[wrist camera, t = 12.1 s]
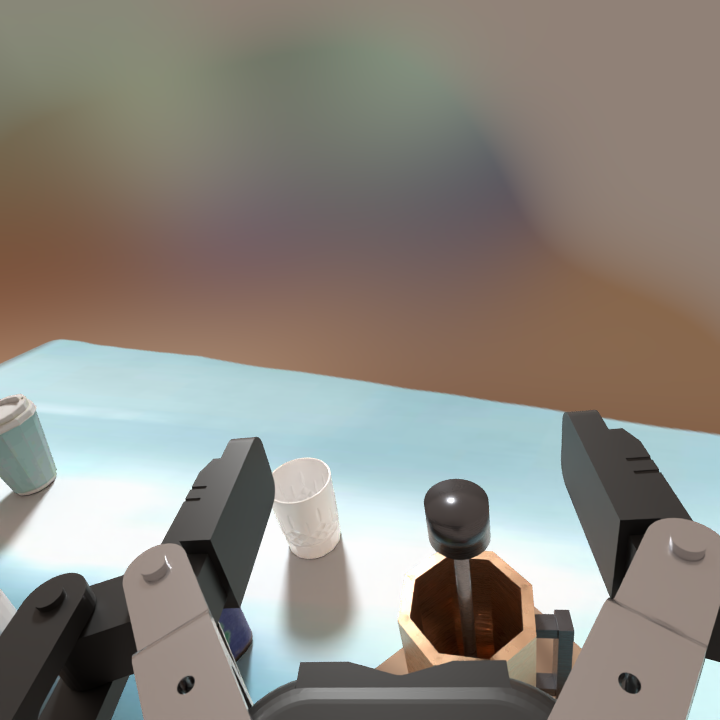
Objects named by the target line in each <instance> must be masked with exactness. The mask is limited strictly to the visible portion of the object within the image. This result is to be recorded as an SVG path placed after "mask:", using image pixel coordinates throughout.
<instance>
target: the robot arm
mask: <svg viewBox="0 0 720 720" xmlns="http://www.w3.org/2000/svg"><path fill="white" fill-rule="evenodd" d="M561 467H562V474H563V478H564V482H565V485H566V488H567V490H568V493H569V495H570V498H571V500H572V503H573V505H574V508H575V510H576V513H577V515H578V518H579V520H580V523H581V525H582V528H583V530H584V533H585V535H586V538H587V540H588V543H589V545H590V548H591V550H592V553H593V555H594V558H595V561H596V563H597V566H598V568H599V571H600V573H601V576H602V578H603V581H604V583H605V586H606V588H607V591H608V593H609V596H610V598H608V599H607V600H606V602H605V603H604V605H603V607H602V609H601V611H600V613H599V615H598V617H597V619H596V621H595V623H594V625H593V627H592V629H591V631H590V633H589V635H588V637H587V639H586V641H585V643H584V645H583V648H582V650H581V652H580V654H579V656H578V658H577V660H576V662H575V664H574V666H573V668H572V670H571V672H570V674H569V676H568V678H567V680H566V682H565V684H564V687H563V689H562V691H561V693H560V695H559V697H558V699H557V700H556V699H555V698H553V697H552V696H550V695H549V694H548V693H546V692H544V691H542V690H540V689H538V688H536V687H535V686H532V685H530V684H527V683H525V682H522V681H520V680H516V679H512V678H509V673H508V667H507V661H506V660H466V661H450V662H447V663H443V664H440V665H436V666H433V667H429V668H426V669H422V670H419V671H415V672H412V673H408V674H404V675H395V674H391V673H387V672H384V671H380V670H377V669H373V668H369V667H366V666H362V665H358V664H355V663H351V662H300V667H299V672H298V678H297V680H296V681H292V682H290V683H287V684H285V685H283V686H280V687H279V688H277V689H275V690H273V691H272V692H270V693H268V694H267V695H266V696H264V697H263V698H261V699H260V700H259V701H257V702H256V703H255V704H253V702H252V700H251V698H250V695H249V693H248V691H247V688H246V686H245V684H244V681H243V679H242V676H241V674H240V671H239V669H238V667H237V664H236V662H235V659H234V657H233V655H232V652H231V650H230V647H229V645H228V642H227V640H226V638H225V635H224V633H223V630H222V628H221V626H220V624H219V619H220V616H221V613H222V610H223V609H226V608H240V606H241V603H242V600H243V597H244V594H245V591H246V588H247V584H248V581H249V578H250V575H251V572H252V569H253V566H254V563H255V559H256V556H257V553H258V550H259V547H260V544H261V541H262V538H263V534H264V531H265V528H266V525H267V522H268V519H269V516H270V513H271V509H272V506H273V503H274V499H275V482H274V478H273V475H272V472H271V469H270V466H269V462H268V459H267V456H266V453H265V450H264V447H263V444H262V441H261V440H260V438H259V437H252V438H240V439H231V440H230V441H229V443H228V445H227V447H226V449H225V451H224V453H223V455H222V457H221V458H219V459H213V460H212V461H211V462H210V463H209V464H208V465H207V466H206V467H205V468H204V469H203V470H202V471H200V473H199V474H198V476H197V478H196V480H195V482H194V484H193V486H192V490H190V491H189V493H188V495H187V497H186V501H185V502H183V504H182V506H181V508H180V510H179V512H178V514H177V516H176V517H175V519H174V521H173V523H172V525H171V527H170V529H169V530H168V532H167V534H166V536H165V538H164V540H163V542H162V543H161V545H158V546H155V547H152V548H150V549H148V550H147V551H145V552H143V553H142V554H141V555H139V556H138V557H137V558H136V559H135V560H134V561H133V562H132V563H131V564H130V565H129V567H128V568H127V570H126V572H125V574H124V575H122V576H120V577H116V578H113V579H110V580H107V581H104V582H101V583H98V584H95V585H92V586H89V585H88V583H87V582H86V580H85V578H84V577H83V576H82V575H80V574H77V573H67V574H62V575H59V576H56V577H54V578H52V579H50V580H48V581H46V582H45V583H43V584H42V585H40V586H39V587H38V588H36V589H35V590H34V591H33V592H32V593H31V594H30V595H29V596H28V597H27V598H26V599H25V600H24V602H23V603H22V605H21V606H20V607H19V609H18V610H16V608H15V607H14V606H13V605H12V603H11V602H10V601H9V599H8V598H7V597H6V595H5V594H4V593H3V592H2V590H1V589H0V720H111V718H112V716H113V714H114V711H115V709H116V706H117V704H118V702H119V699H120V697H121V694H122V692H123V690H124V687H125V685H126V682H127V680H128V678H129V675H132V674H134V675H135V679H136V684H137V689H138V694H139V699H140V704H141V708H142V713H143V718H144V720H688V716H689V713H690V709H691V706H692V703H693V699H694V696H695V692H696V689H697V685H698V682H699V679H700V675H701V672H702V668H703V665H704V662H705V658H707V659H710V660H714V661H717V662H720V536H719V535H718V534H717V533H716V532H714V531H713V530H711V529H710V528H708V527H706V526H704V525H702V524H699V523H697V522H694V521H693V520H692V519H691V517H690V516H689V514H688V513H687V511H686V510H685V508H684V507H683V505H682V504H681V502H680V501H679V499H678V498H677V496H676V495H675V493H674V492H673V490H672V488H671V487H670V485H669V484H668V482H667V481H666V479H665V478H664V476H663V475H662V473H659V469H658V467H657V466H656V464H655V463H654V461H653V460H651V458H650V455H649V454H648V452H647V451H646V449H645V448H644V446H643V444H642V443H641V441H639V440H638V439H637V438H635V437H634V436H632V435H631V434H630V433H628V432H627V431H625V430H624V429H623V428H620V429H608V427H607V426H606V424H605V422H604V421H603V419H602V417H601V416H600V414H599V412H598V411H597V410H588V411H576V412H565V413H564V414H563V421H562V448H561Z"/></svg>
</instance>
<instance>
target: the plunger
mask: <svg viewBox="0 0 720 720" xmlns="http://www.w3.org/2000/svg"><path fill="white" fill-rule="evenodd" d="M424 507H425V514H426V521H427V528H428V536H429V541H430V543H431V545H432V547H433V548H434V549H435V550H436V551H437V552H438V553H439V554H441V555H442V556H444V557H447V558H450V559H454V564H455V573H456V583H457V592H458V601H459V611H460V620H461V630H462V639H463V648H464V657H471V658H477V647H476V636H475V624H474V612H473V601H472V589H471V577H470V566H469V559H471V558H474V557H476V556H478V555H480V554H481V553H482V552H484V551H485V549H486V548H487V547H488V545H489V542H490V519H489V502H488V497H487V494H486V493H485V491H484V490H483V489H482V488H481V487H480V486H478V485H477V484H475V483H473V482H471V481H467V480H463V479H449V480H445V481H442V482H439V483H437V484H435V485H434V486H432V487H431V488H430V489H429V490H428V492H427V493H426V495H425V499H424ZM479 659H481V658H479Z"/></svg>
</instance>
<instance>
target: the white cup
mask: <svg viewBox="0 0 720 720" xmlns="http://www.w3.org/2000/svg"><path fill="white" fill-rule="evenodd" d="M272 475H273V478H274V482H275V499H274V503H273V506H272V508H273V510H274V513H275V515H276V518H277V520H278V522H279V525H280V527H281V529H282V531H283V534H284V535H285V537H286V539H287V541H288V543H289V546H290V549H291V551H292V552H293V553H294V554H296V555H297V556H298V557H300V558H305V559H314V558H319V557H323V556H324V555H326V554H327V553H329V552H330V551H332V550H333V549H334V548H335V546H336V545H337V543H338V542H339V540H340V533H341V529H340V524H339V520H338V510H337V504H336V498H335V493H334V488H333V482H332V477H331V472H330V469H329V467H328V465H327V464H326V463H324V462H323V461H321V460H319V459H315V458H299V459H295V460H291V461H289V462H286V463H284V464H283V465H281V466H279V467H278V468H277V469H275V470H274V471H273V472H272Z"/></svg>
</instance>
